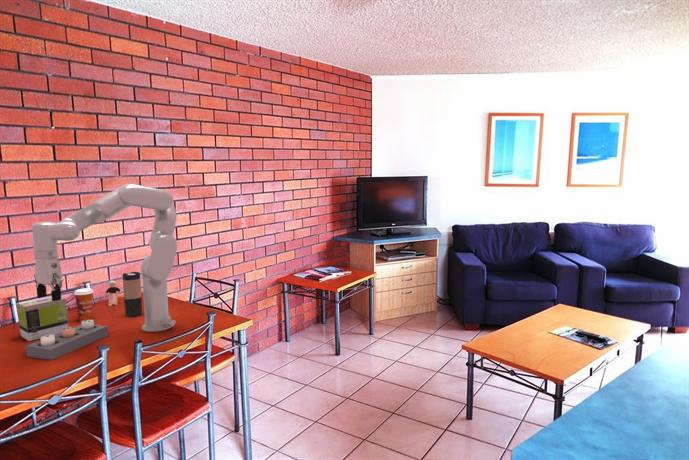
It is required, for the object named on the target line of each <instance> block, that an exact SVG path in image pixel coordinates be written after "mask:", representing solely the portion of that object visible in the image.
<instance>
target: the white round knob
mask: <svg viewBox="0 0 689 460" xmlns="http://www.w3.org/2000/svg"><path fill="white" fill-rule="evenodd" d="M55 335H56V334H55ZM55 335H53V334H49V335H44V336H42V337H40V340H41V346H43V347H49V346H51V345H54V344H55Z"/></svg>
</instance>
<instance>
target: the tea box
mask: <svg viewBox="0 0 689 460" xmlns="http://www.w3.org/2000/svg"><path fill="white" fill-rule="evenodd" d="M16 306H17V313H18V323H19V331H20V337H22V338H23V339H25V340H26V341H28V342H31V341H36V340H39V339H40V340H41V338H40V337H42V336H44V335H49V334H53V335H56V334H58V333H61V332H62V329H63V328H66V327H70V326H69V318H68V309H67V299H66V298H64V297H62V296H61V300H57V301H52V296H51V295H50V296H45V297H40V298H34V299H30V300H25V301H19V302H17V303H16Z"/></svg>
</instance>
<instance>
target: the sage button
mask: <svg viewBox="0 0 689 460" xmlns="http://www.w3.org/2000/svg"><path fill="white" fill-rule="evenodd" d="M94 321H95V320H94V319H92V320H84V321H82V322H81V321H80V322H81V324H80V325H82V330H86V331H89V330H91V329H94V325H95V322H94Z"/></svg>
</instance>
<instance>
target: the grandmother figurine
mask: <svg viewBox="0 0 689 460" xmlns="http://www.w3.org/2000/svg"><path fill="white" fill-rule="evenodd" d="M108 285H109V287H108V288H107V289H106V291H105V294H104V296H105V297H106V296H107V295H108V304H107V306H108V307H112V306H117V305H119V304H118V293H119V295H120V294H122V291H121V289H120V288H119V287H117V286H116V285H117V282H116V281H115V280H110V281H109V282H108ZM117 292H118V293H117Z"/></svg>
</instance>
